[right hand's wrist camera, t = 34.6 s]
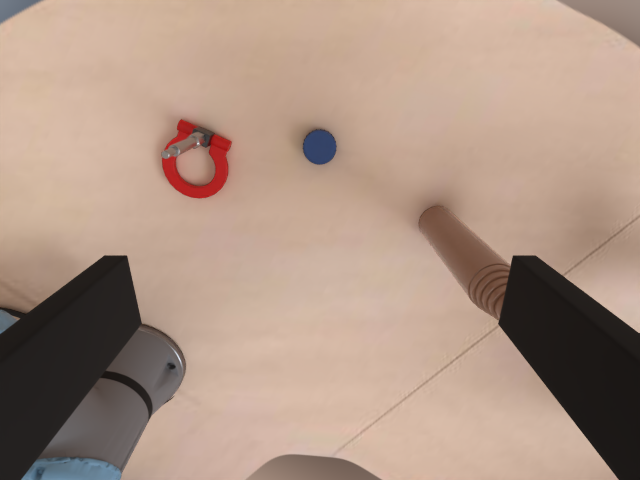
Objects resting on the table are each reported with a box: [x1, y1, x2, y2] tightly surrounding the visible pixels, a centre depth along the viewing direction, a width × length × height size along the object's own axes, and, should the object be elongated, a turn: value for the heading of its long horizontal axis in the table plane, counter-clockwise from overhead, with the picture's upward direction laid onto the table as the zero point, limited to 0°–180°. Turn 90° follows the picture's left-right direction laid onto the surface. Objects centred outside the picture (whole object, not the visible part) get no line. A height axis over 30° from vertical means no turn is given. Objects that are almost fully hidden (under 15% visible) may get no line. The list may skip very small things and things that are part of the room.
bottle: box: [419, 206, 511, 320], centre depth 40 cm, size 5×5×24 cm
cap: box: [303, 129, 337, 164], centre depth 47 cm, size 4×4×2 cm
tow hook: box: [161, 120, 231, 198], centre depth 42 cm, size 8×13×9 cm
